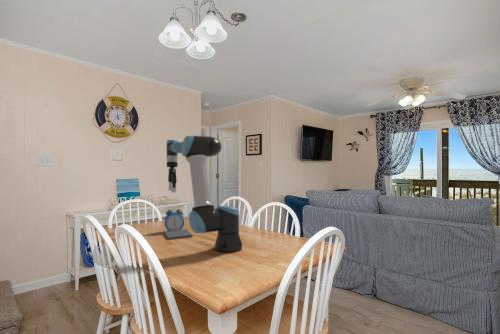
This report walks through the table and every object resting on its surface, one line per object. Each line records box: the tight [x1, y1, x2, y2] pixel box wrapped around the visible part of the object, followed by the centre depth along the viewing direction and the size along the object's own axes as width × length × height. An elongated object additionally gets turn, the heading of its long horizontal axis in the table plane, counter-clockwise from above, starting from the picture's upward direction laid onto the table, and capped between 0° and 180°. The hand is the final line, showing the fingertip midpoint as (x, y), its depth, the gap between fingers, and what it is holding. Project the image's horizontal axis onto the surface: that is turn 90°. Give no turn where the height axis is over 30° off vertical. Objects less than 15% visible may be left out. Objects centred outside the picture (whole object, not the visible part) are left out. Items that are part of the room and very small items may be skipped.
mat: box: [163, 228, 193, 241], centre depth 180 cm, size 16×15×2 cm
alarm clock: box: [164, 209, 185, 231], centre depth 191 cm, size 13×6×15 cm, turn 107°
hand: (172, 191), depth 199 cm, fingers open, 12 cm apart
